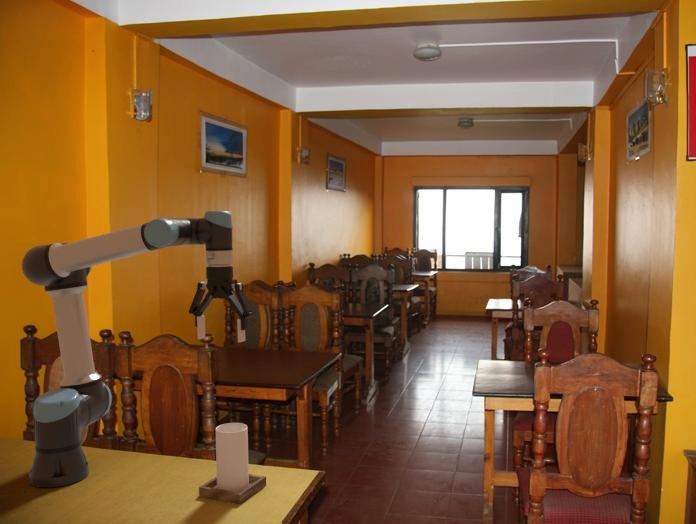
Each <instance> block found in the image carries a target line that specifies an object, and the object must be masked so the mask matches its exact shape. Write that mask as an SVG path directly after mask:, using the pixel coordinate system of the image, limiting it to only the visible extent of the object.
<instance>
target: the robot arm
mask: <svg viewBox="0 0 696 524" xmlns="http://www.w3.org/2000/svg"><path fill="white" fill-rule="evenodd" d="M232 221H233V220H232V213H231V212H230V211H228V210H208V211H205V212H204V216H203V217H202V218H201V217H200V218H197V217H195V218H191V217H190V218H189V217H188V218H186V217H180V218H179V217H172V218H169V217H159V218H154V219H151V220H150V221H149V222H145V223H140V224H137V225H133V226H130V227H129V226H128V227H125V228H123V229H117V230H114V231H111V232H107V233H103V234H99V235H95V236H92V237H88V238H87V237H86V238H84V239H80V240H77V241H73V242H69V243H68V242H65V243H64V242H62V243H61V242H54V243H48V244H39V245H36V246H34V247H32V248H30V249H28V251H26V253H25V254H24V255H23V257H22V260H21V270H22V274H23V276H24V277H25V278H26V279H27V280H28V281H29V282H30V283H32V284H34V285H35V286H36V285H37V286H39V287H40V286H41V287H42V286H44V292H45V293H46V294H47V295H49V296H50V297H51V301H52V307H53V312H54V313H53V314H54V320H55V326H56V333H57V339H58V345H59V351H60V352H59V353H60V358H61V359H60V360H61V365H62V370H63V371H62V372H63V379H62V380H61V381H60V383H59V388H58V389H53V390H49V391H46V392H44V393H42V394H40V395H39V396H37V397H36V399H35V400H34V402H33V403H34V404H33V411H32V416H33V427H34V428H33V429H34V430H33V431H34V445H35V446H34V447H35V448H34V449H35V450H34V451H35V453H34V458H33V461H32V465H31V469H30V471H29V473H28V474H29V476H28V479H29V484H30V483H31V484H32V485H31V484H30V485H31V486H33V485H35V486H34V487H36V486H39V487H38V488H44V487H49V488H57V487H64V486H69V485H72V484H75V483H78V482H81V481H82V480H84V479H85V478H87V477H88V476H89V474H90V467H89V462H88V461H87V459H86V456H85V452H84V450H83V448H82V435H81V434H82V433H81V432H82V431H81V430H83V429H86V428H87V427H88V426H90V425H92V424H94V423H96V422H99V421H100V420H101V419H103V417H104V416H105V415H106V414H107V413H108V412H109V410H110V408H111V406H112V403H113V402H112V401H113V397H112V392H111V388H110V387H109V386H107V385H106V384H105V382H103V378H102V374H99V373H98V372H97V371H96V368H95V367H96V366H95V363H94V355H93V351H92V350H93V349H92V348H93V347H92V342H91V336H90V330H89V323H88V315H87V309H86V303H85V297H84V292H85V291H86V289H87V288H88V278H87V277H88V276H89V275H90V273H91V270H92V267H94V266H97V265H102V264H106V263H109V262H113V261H116V260H117V261H118V260H120V259H125V258H129V257H133V256H136V255H141V254H144V253H148V252H151V251H157V250H161V249H164V248H168V247H176V246H189V245H190V246H191V245H192V246H193V245H194V246H195V245H197V246H198V245H202V246H203V245H204V246H205V264H206V265H207V266H206V267H205V278H206V280H207V281H200V282H197V285H196V291H195V294H194V297H193V299H192V302H191V304H190V307H189V310H188V313H189V314H191V315H193V316H194V323H195V324H194V327H196V329H197V330H196V331H197V340H202V339H205V338H206V316H205V315H204V312H205V311H206V310H207V308H208V306H209V305H211V302H213V300H214V299H220V300H223V299H225V300H226V301H227V302H228V303H229V305H230V306H231V307H232V309H233V310H234V312H235V313H236V314H237V316H238V317H239V318H237V320H236V321H237V326H236V327H237V343H242V342H246V330H248V318H250V317H253V316H254V311H253V309H252V307H251V304H250V302H249V300H248V298H247V295H246V293H245V290H244V283H243V282H237V283H234V282H233V279H234V267H233V266H232V265H233V263H234V256H233V255H234V253H233V228H234V225H233V222H232ZM206 290H208V292H207V293H206ZM233 291H234V292H235V293H234V292H233ZM205 293H206V294H205ZM204 295H205V296H204ZM203 298H204V299H203Z"/></svg>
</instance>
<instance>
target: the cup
mask: <svg viewBox="0 0 696 524" xmlns="http://www.w3.org/2000/svg"><path fill="white" fill-rule="evenodd" d="M248 429H249V428H248V425H247V424H245V423H243V422H228V423H223V424H220V425H218V426H216V427H215V455H216V456H215V458H216V459H215V463H216V476H217V489H221V490H227V491H232V492H237V493H240V492H241V491H243V490H244V489H245V488H247V487H248V486H249V474H250V472H249V437H248V436H249V434H248Z"/></svg>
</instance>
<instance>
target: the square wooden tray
mask: <svg viewBox="0 0 696 524" xmlns="http://www.w3.org/2000/svg"><path fill="white" fill-rule="evenodd" d="M266 486H267V476H264V475H258V474H252V473H249V486H248V487H247V488H245V489H244V490H243V491H241V492H240V493H237V492H232V491H227V490H221V489H217V475H216V476H215V477H213V478H212V479H210V480H208V481H206V482H205V483H204V484H202V485H200V486H199V487H198V496H199V497H201V498H207V499H214V500H218V501H223V502H229V503H234V504H239V505H241V504H243V503H244V502H245V501H247V500H248V499H249V498H251V497H253V495H256V494H257V493H258V492H259V491H260V490H262V489H263V488H264V487H266Z"/></svg>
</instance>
